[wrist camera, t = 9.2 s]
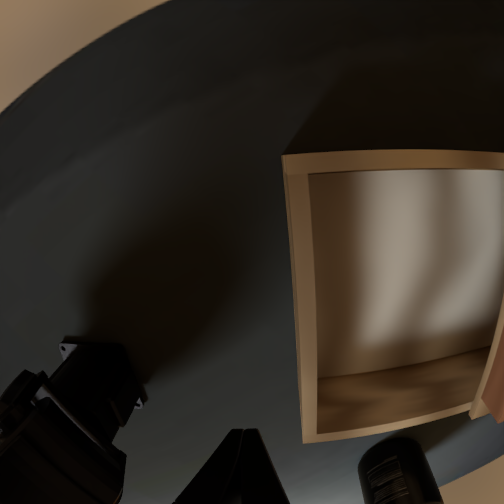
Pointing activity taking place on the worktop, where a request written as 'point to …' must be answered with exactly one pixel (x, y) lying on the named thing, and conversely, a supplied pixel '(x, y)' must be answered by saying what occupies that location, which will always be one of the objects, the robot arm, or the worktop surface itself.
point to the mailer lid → (492, 378)
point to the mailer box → (392, 284)
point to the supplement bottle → (397, 474)
